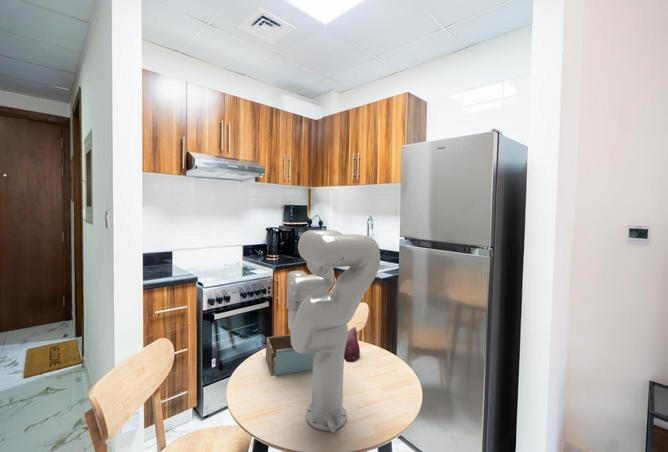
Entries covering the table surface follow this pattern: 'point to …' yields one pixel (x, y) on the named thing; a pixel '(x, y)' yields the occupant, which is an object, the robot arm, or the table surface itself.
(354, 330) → the vegetable
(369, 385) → the table surface
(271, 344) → the box
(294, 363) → the light blue panel
